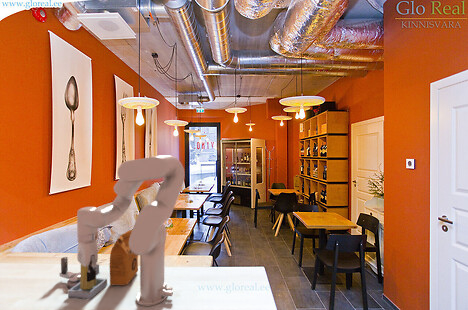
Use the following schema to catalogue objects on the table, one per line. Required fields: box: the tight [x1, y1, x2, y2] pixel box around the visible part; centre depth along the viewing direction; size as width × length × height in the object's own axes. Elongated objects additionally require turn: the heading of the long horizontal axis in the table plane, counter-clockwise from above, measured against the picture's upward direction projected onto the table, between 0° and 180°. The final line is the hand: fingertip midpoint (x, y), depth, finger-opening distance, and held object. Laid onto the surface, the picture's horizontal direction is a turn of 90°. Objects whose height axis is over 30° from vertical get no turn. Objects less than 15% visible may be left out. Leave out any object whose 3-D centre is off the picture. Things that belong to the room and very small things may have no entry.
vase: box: [80, 262, 97, 290], centre depth 96 cm, size 6×6×14 cm
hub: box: [66, 279, 80, 290], centre depth 101 cm, size 7×7×2 cm
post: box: [96, 263, 100, 275], centre depth 110 cm, size 2×2×4 cm
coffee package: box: [109, 229, 139, 286], centre depth 105 cm, size 10×12×22 cm
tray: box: [67, 277, 108, 301], centre depth 96 cm, size 10×10×3 cm
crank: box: [59, 256, 81, 283], centre depth 102 cm, size 12×6×8 cm, turn 72°
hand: (88, 276), depth 96 cm, fingers closed on vase, 5 cm apart
